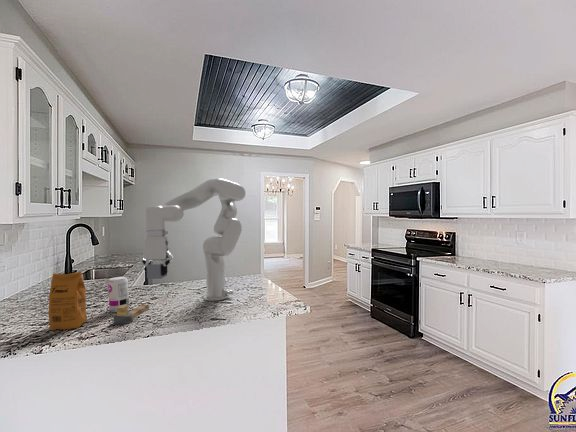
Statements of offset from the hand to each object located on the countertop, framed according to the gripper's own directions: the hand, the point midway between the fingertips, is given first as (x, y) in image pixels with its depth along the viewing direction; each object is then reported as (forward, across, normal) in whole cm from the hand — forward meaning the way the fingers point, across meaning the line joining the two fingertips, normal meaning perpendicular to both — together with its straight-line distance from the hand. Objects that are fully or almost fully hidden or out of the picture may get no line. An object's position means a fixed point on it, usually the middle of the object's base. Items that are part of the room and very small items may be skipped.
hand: (157, 274), depth 138 cm
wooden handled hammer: (+18, +11, +1) cm, 21 cm away
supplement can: (+18, +23, -8) cm, 30 cm away
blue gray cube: (+1, 0, 0) cm, 1 cm away
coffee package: (+18, +32, +12) cm, 39 cm away
